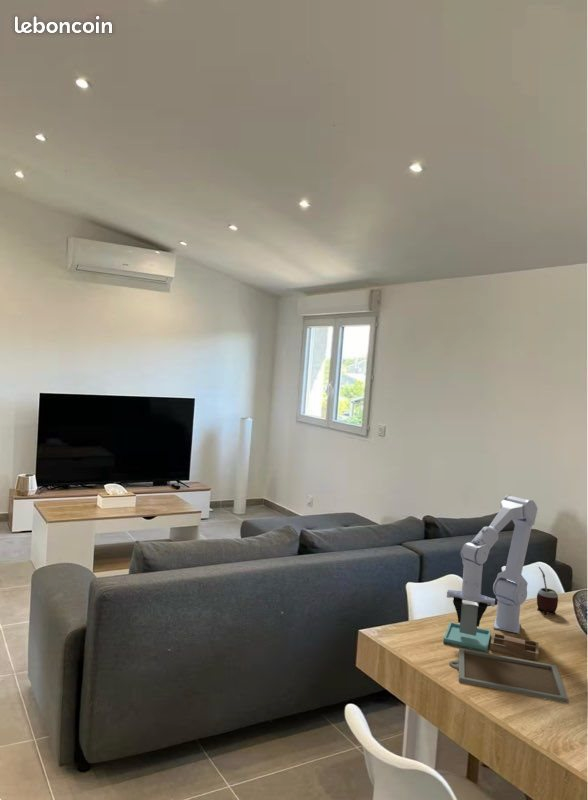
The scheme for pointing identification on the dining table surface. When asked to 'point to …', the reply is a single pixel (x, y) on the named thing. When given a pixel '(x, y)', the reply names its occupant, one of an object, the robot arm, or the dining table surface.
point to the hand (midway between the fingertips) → (468, 623)
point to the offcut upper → (514, 642)
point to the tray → (467, 638)
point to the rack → (529, 652)
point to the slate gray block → (469, 619)
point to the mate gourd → (547, 599)
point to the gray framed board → (510, 674)
